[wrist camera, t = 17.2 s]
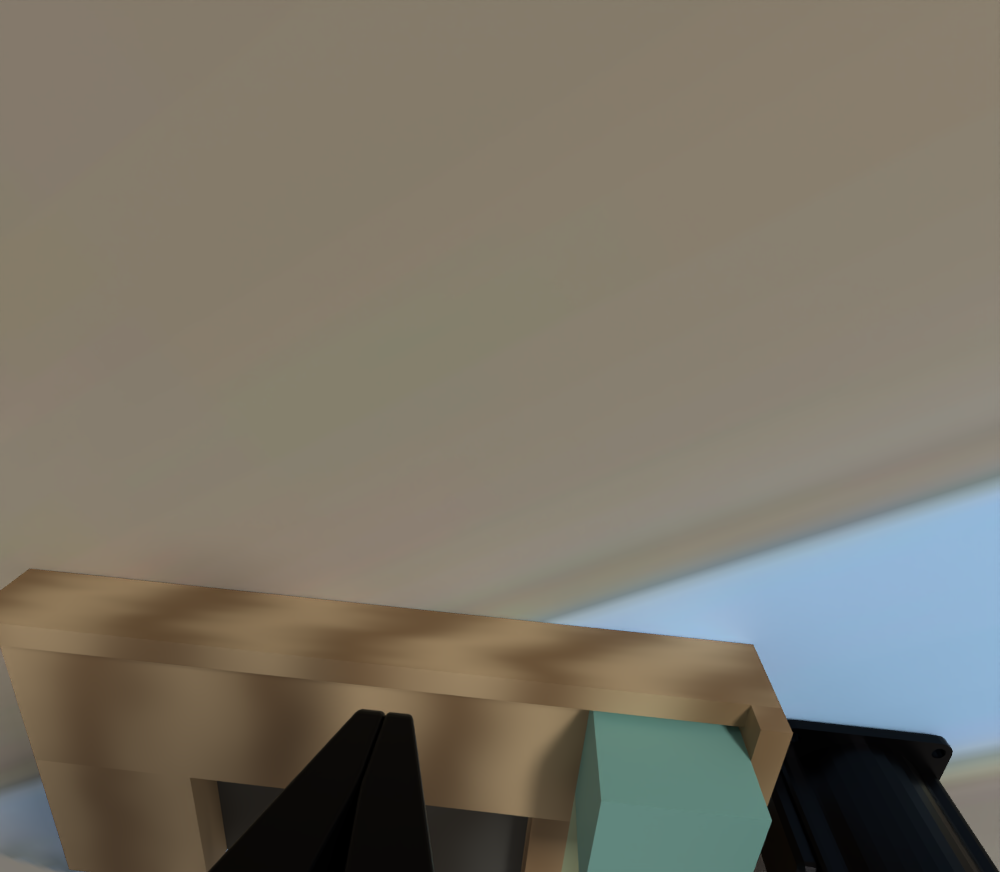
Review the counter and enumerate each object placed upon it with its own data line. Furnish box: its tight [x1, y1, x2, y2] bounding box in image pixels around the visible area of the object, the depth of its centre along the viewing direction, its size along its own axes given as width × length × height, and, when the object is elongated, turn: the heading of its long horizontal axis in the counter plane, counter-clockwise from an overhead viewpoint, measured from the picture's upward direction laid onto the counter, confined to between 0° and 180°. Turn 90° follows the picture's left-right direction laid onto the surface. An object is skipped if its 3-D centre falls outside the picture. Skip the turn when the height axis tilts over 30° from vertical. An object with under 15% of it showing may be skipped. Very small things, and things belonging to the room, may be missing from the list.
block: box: [575, 710, 772, 872], centre depth 21 cm, size 5×5×4 cm
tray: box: [0, 569, 793, 872], centre depth 25 cm, size 28×16×4 cm, turn 86°
